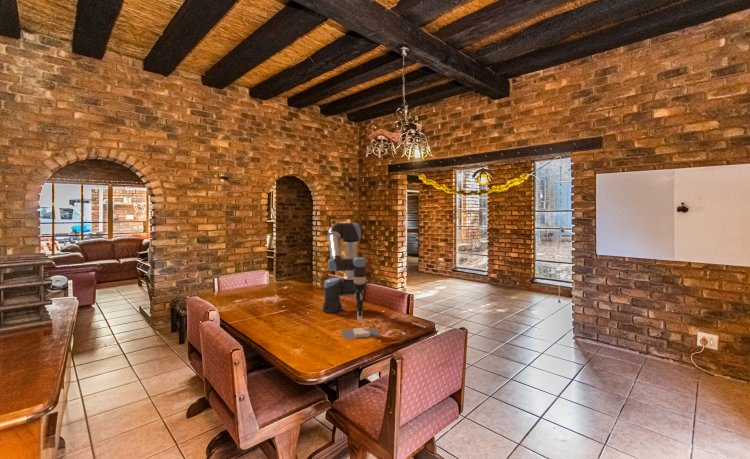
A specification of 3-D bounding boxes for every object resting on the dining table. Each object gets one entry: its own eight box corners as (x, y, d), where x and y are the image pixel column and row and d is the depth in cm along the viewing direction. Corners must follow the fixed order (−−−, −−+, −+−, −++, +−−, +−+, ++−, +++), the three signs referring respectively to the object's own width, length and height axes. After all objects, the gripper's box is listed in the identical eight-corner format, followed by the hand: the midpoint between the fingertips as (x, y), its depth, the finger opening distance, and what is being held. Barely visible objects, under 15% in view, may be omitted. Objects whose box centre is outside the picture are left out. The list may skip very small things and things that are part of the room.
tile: (352, 328, 204) (355, 334, 195) (367, 327, 206) (370, 333, 197) (352, 332, 204) (355, 337, 195) (367, 330, 206) (370, 336, 197)
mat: (341, 331, 207) (341, 330, 207) (376, 328, 212) (376, 327, 211) (344, 340, 193) (344, 339, 193) (381, 337, 198) (381, 336, 198)
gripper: (352, 280, 210) (352, 317, 212) (355, 285, 198) (355, 324, 199) (363, 280, 212) (363, 316, 214) (367, 285, 199) (367, 323, 201)
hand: (359, 320), depth 207 cm, fingers closed
